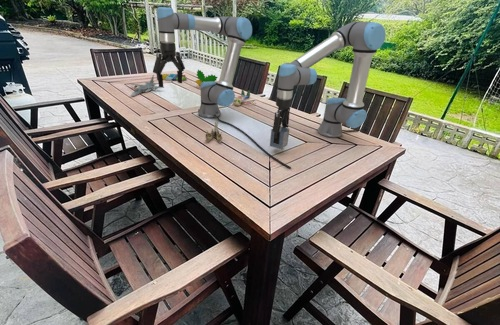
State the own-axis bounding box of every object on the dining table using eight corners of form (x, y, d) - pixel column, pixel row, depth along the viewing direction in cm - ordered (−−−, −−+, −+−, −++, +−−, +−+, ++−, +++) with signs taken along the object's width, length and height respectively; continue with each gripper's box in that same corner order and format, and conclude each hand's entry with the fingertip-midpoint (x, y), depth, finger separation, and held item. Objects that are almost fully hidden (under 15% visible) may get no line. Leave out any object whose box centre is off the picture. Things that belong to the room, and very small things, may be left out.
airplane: (124, 86, 238) (122, 75, 233) (160, 84, 251) (158, 74, 246) (129, 99, 209) (126, 86, 204) (168, 96, 223) (167, 84, 217)
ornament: (212, 91, 261) (216, 76, 260) (214, 91, 254) (218, 75, 252) (192, 84, 253) (195, 69, 251) (193, 84, 245) (197, 68, 244)
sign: (185, 79, 272) (155, 78, 269) (185, 81, 272) (155, 79, 270) (188, 74, 294) (161, 73, 291) (188, 76, 294) (161, 74, 292)
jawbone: (224, 125, 157) (223, 115, 148) (222, 147, 150) (221, 138, 141) (208, 125, 157) (206, 115, 148) (206, 147, 150) (204, 138, 141)
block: (275, 141, 144) (277, 125, 139) (287, 145, 141) (289, 128, 136) (269, 145, 139) (271, 129, 134) (282, 149, 136) (284, 132, 131)
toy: (261, 91, 228) (254, 99, 202) (261, 99, 231) (253, 108, 205) (231, 87, 233) (220, 95, 207) (230, 95, 236) (219, 104, 210)
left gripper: (180, 40, 144) (182, 80, 154) (141, 42, 125) (147, 87, 135) (190, 42, 140) (192, 82, 151) (152, 44, 122) (157, 89, 132)
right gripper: (285, 92, 136) (280, 133, 148) (268, 101, 121) (264, 145, 132) (299, 95, 133) (293, 136, 144) (282, 104, 118) (277, 149, 129)
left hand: (170, 84), depth 143 cm, fingers open, 13 cm apart
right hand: (279, 140), depth 138 cm, fingers closed on block, 7 cm apart
